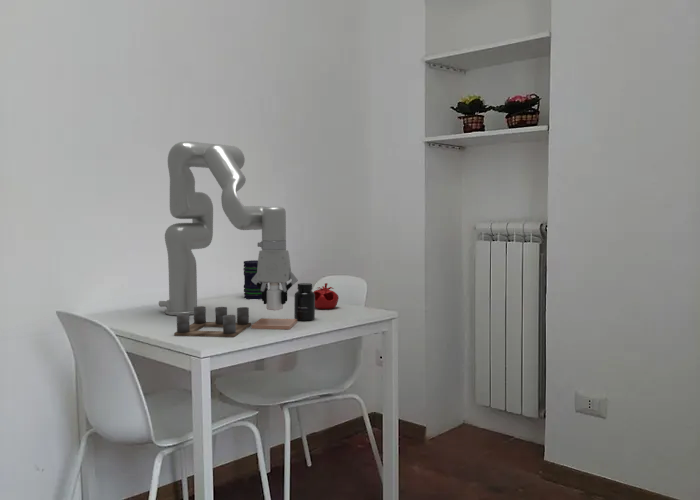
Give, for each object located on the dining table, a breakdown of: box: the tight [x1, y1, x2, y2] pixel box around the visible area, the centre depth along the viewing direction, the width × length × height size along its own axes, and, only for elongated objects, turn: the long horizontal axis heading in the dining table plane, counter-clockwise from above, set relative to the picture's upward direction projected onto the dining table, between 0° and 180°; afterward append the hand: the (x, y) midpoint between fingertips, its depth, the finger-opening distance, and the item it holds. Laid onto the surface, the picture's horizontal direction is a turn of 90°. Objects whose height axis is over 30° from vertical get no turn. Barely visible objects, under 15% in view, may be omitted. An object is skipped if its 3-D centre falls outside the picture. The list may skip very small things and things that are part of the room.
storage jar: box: [242, 259, 269, 300], centre depth 262 cm, size 10×10×15 cm
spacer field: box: [173, 305, 252, 338], centre depth 195 cm, size 18×18×6 cm
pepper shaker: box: [266, 283, 284, 312], centre depth 203 cm, size 4×4×10 cm
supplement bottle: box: [293, 282, 316, 322], centre depth 213 cm, size 7×7×12 cm
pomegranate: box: [313, 282, 339, 310], centre depth 237 cm, size 10×10×9 cm
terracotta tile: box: [250, 317, 298, 330], centre depth 204 cm, size 12×12×1 cm
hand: (274, 303), depth 203 cm, fingers closed on pepper shaker, 5 cm apart
